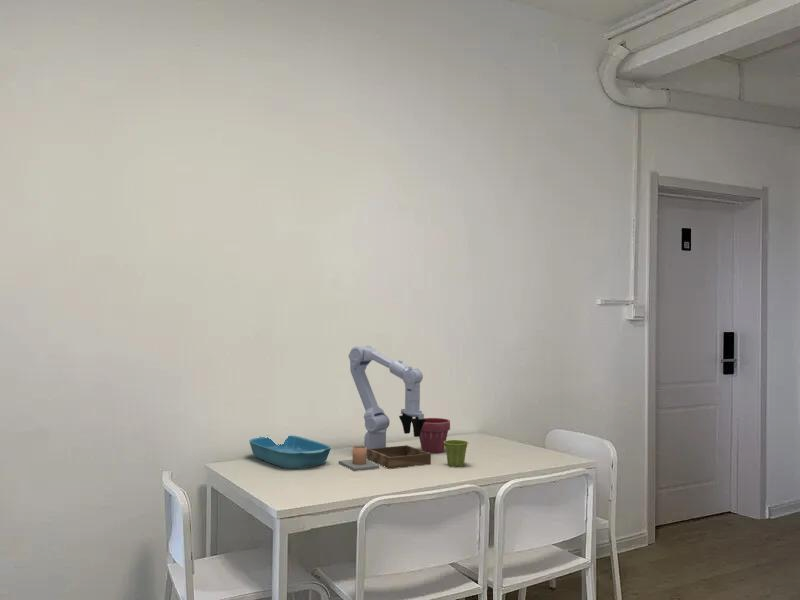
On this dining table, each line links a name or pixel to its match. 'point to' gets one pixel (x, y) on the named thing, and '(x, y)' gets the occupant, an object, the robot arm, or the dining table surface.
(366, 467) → the slate board
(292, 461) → the casserole dish
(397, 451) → the brown wooden tray
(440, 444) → the plant pot
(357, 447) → the terracotta pot
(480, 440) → the dining table surface
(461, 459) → the plant pot
